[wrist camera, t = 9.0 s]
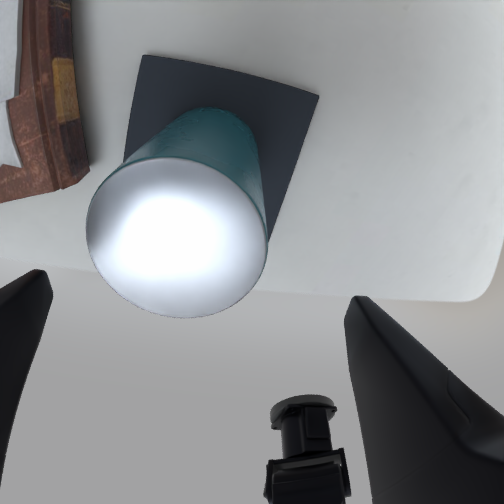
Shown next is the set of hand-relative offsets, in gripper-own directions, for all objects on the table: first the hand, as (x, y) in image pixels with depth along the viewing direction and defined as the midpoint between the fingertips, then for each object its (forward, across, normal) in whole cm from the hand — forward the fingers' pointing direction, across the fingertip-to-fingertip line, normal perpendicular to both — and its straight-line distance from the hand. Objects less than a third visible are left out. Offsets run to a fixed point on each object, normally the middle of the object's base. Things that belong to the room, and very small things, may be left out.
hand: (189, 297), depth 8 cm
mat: (+12, +1, -1) cm, 12 cm away
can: (+11, +1, -1) cm, 11 cm away
